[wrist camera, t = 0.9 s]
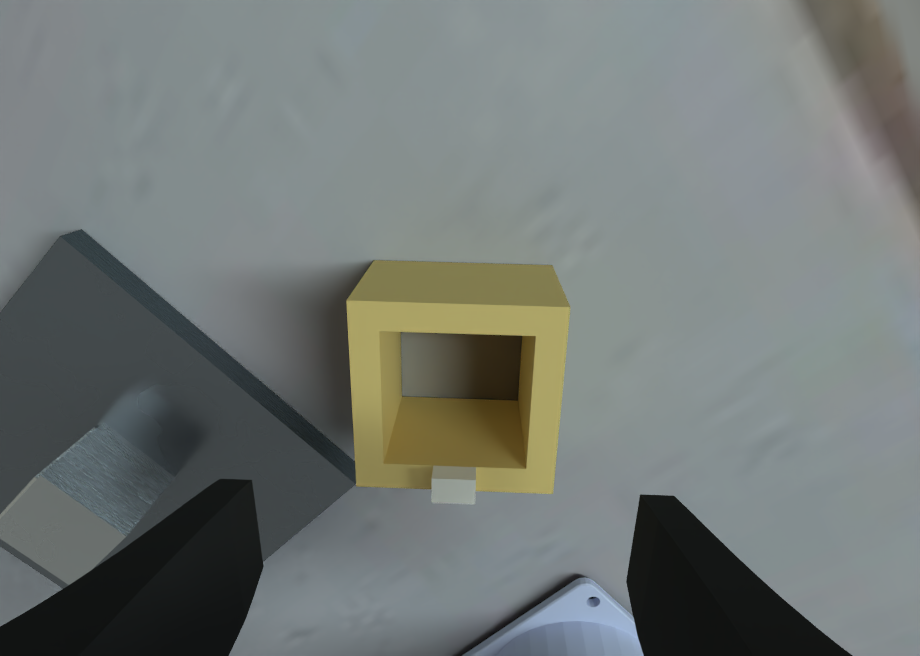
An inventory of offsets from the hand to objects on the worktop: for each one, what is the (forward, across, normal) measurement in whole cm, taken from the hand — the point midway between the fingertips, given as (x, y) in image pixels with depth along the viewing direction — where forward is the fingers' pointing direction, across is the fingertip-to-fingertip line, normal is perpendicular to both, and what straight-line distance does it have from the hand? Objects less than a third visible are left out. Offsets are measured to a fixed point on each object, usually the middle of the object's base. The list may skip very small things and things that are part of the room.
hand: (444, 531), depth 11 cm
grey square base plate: (+9, +12, +5) cm, 16 cm away
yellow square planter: (+9, 0, 0) cm, 9 cm away
